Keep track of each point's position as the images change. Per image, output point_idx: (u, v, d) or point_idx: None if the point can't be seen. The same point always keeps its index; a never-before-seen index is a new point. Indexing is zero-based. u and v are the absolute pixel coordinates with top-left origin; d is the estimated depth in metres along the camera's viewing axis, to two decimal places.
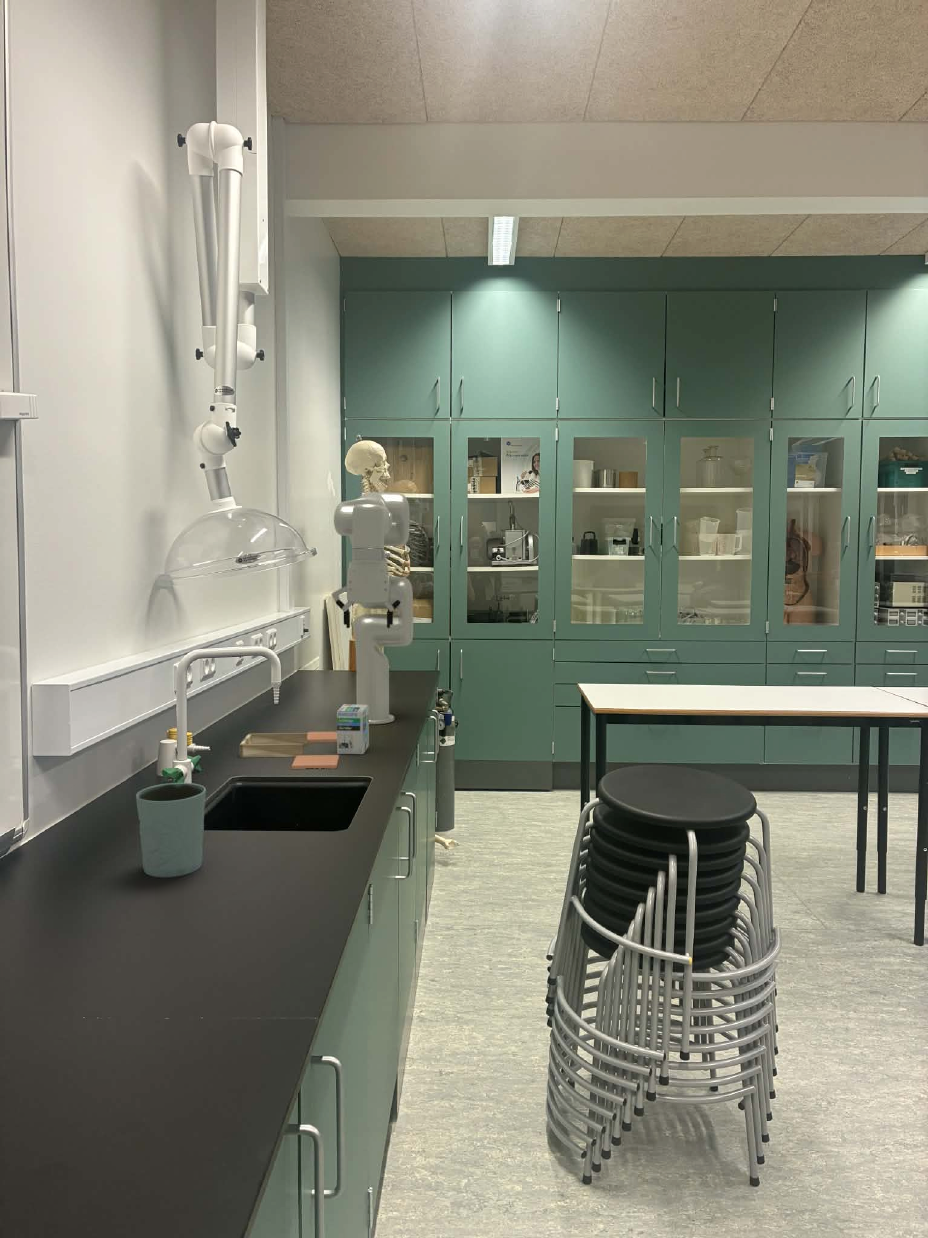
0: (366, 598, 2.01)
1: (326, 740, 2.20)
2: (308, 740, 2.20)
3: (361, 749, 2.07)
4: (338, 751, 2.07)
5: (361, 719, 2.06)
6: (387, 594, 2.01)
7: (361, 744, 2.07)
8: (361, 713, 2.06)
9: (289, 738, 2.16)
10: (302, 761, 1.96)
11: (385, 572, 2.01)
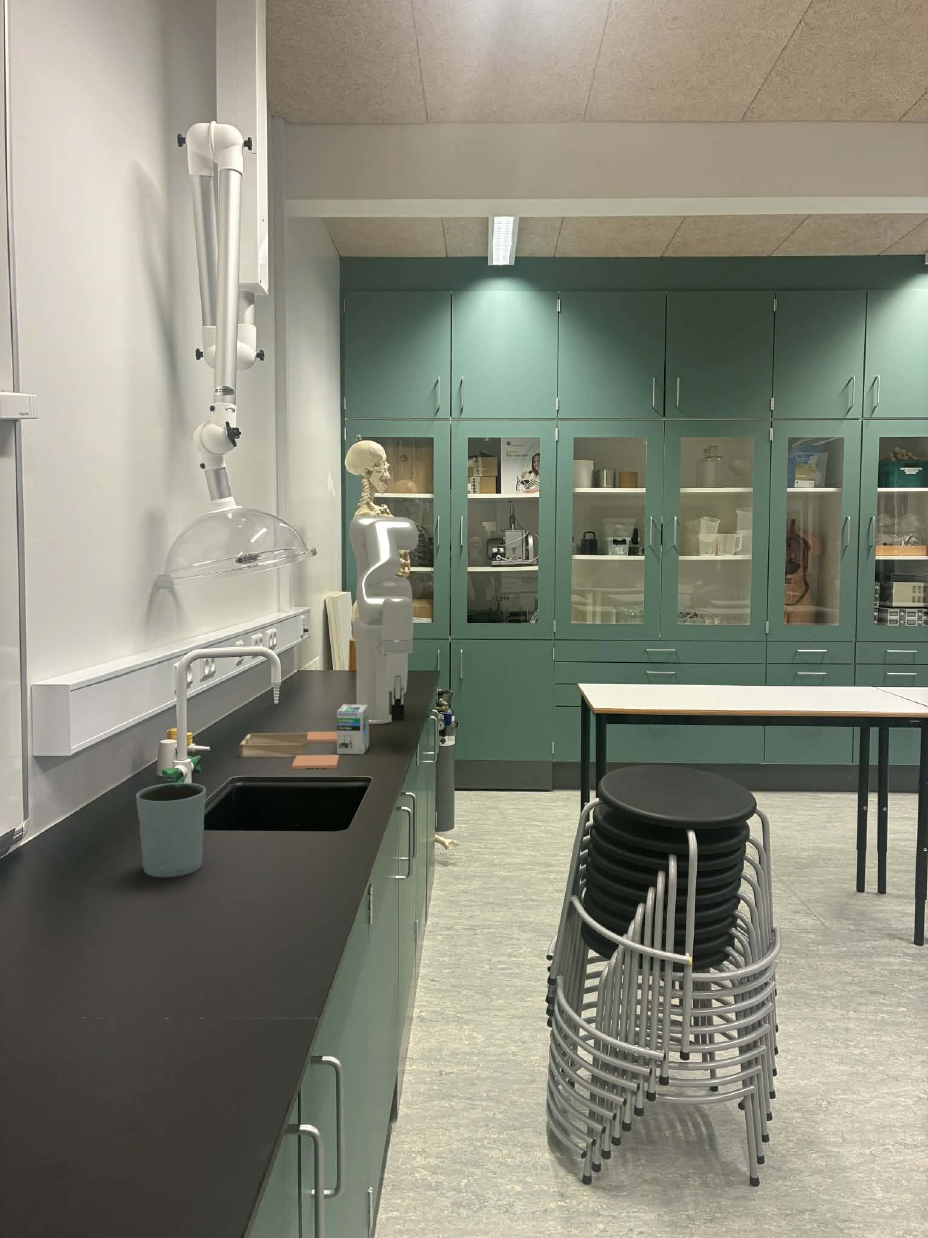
0: None
1: (326, 740, 2.20)
2: (308, 740, 2.20)
3: (361, 749, 2.07)
4: (338, 751, 2.07)
5: (361, 719, 2.06)
6: None
7: (361, 744, 2.07)
8: (361, 713, 2.06)
9: (289, 738, 2.16)
10: (302, 761, 1.96)
11: None
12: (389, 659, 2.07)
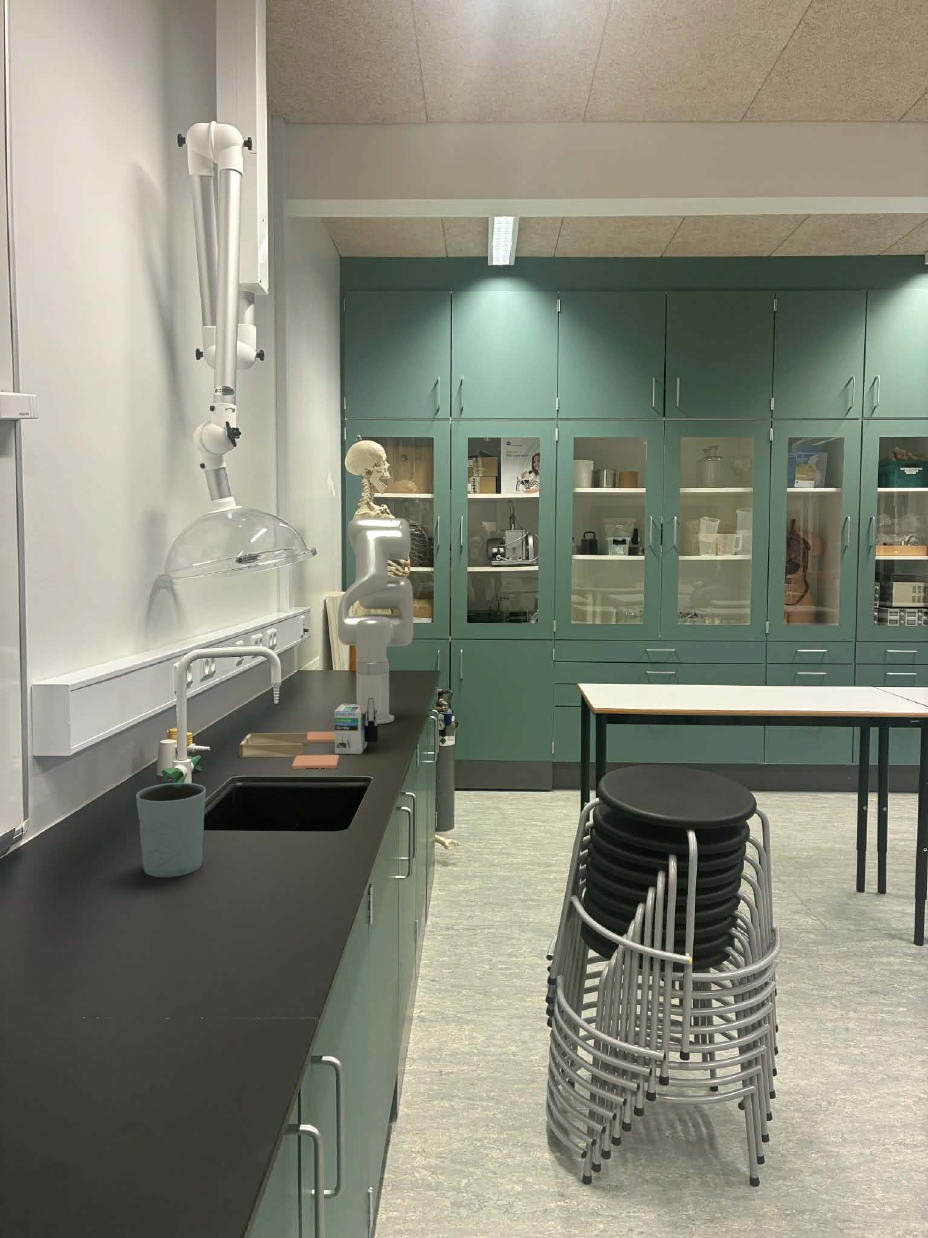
0: None
1: (326, 740, 2.20)
2: (308, 740, 2.20)
3: (359, 749, 2.07)
4: (336, 751, 2.07)
5: (359, 719, 2.06)
6: None
7: (359, 744, 2.07)
8: (359, 713, 2.06)
9: (289, 738, 2.16)
10: (302, 761, 1.96)
11: None
12: (362, 681, 2.07)
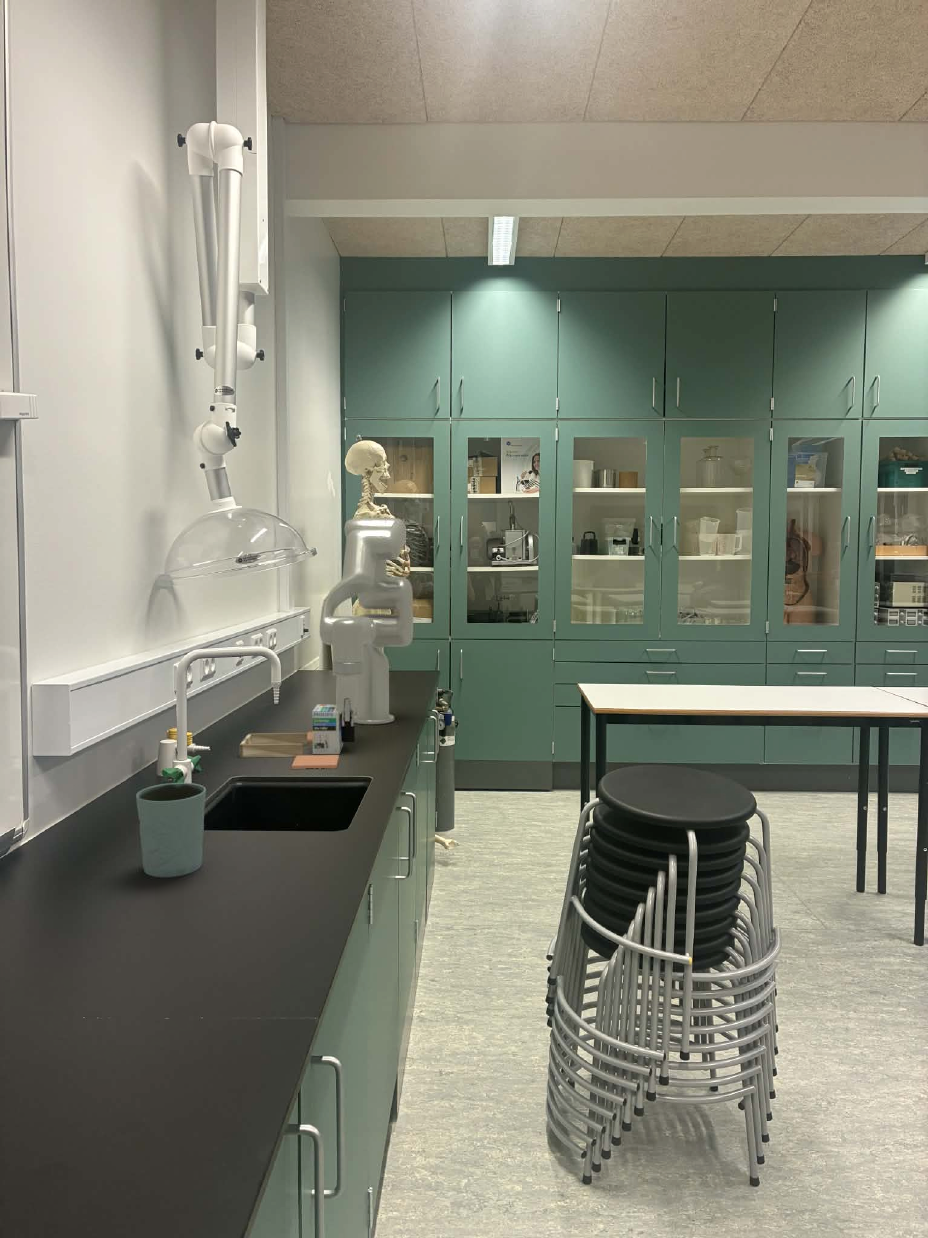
0: None
1: None
2: (308, 740, 2.20)
3: (337, 749, 2.06)
4: (314, 751, 2.06)
5: (337, 719, 2.06)
6: None
7: (337, 744, 2.06)
8: (337, 713, 2.06)
9: (289, 738, 2.16)
10: (302, 761, 1.96)
11: None
12: (338, 682, 2.06)
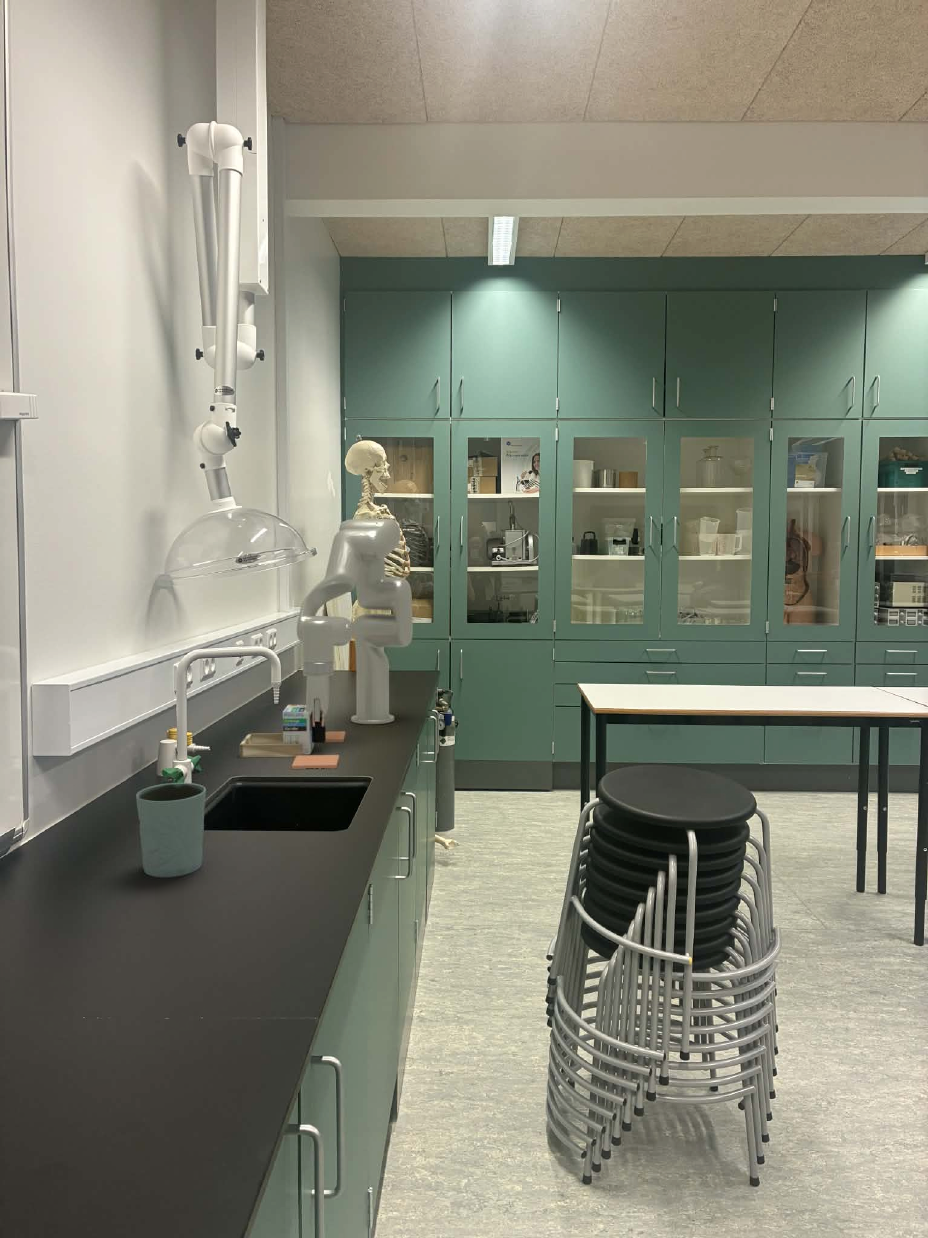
0: (327, 708, 2.10)
1: (326, 740, 2.20)
2: None
3: (308, 749, 2.06)
4: None
5: (307, 719, 2.05)
6: None
7: (308, 744, 2.06)
8: (307, 713, 2.05)
9: None
10: (302, 761, 1.96)
11: None
12: (308, 682, 2.06)
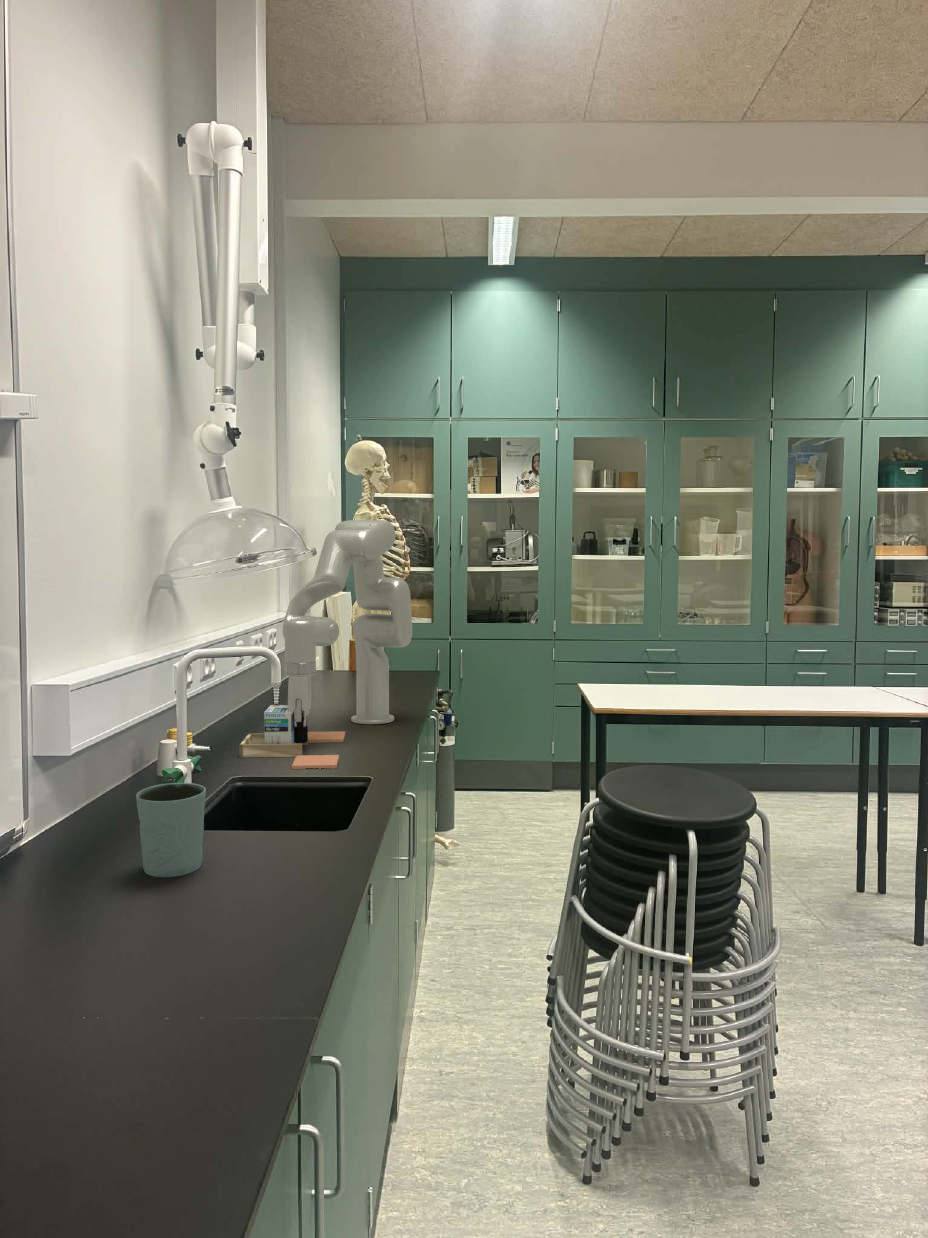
0: (309, 709, 2.10)
1: (326, 740, 2.20)
2: (308, 740, 2.20)
3: None
4: None
5: (289, 720, 2.05)
6: None
7: None
8: (289, 714, 2.05)
9: None
10: (302, 761, 1.96)
11: None
12: (290, 682, 2.05)
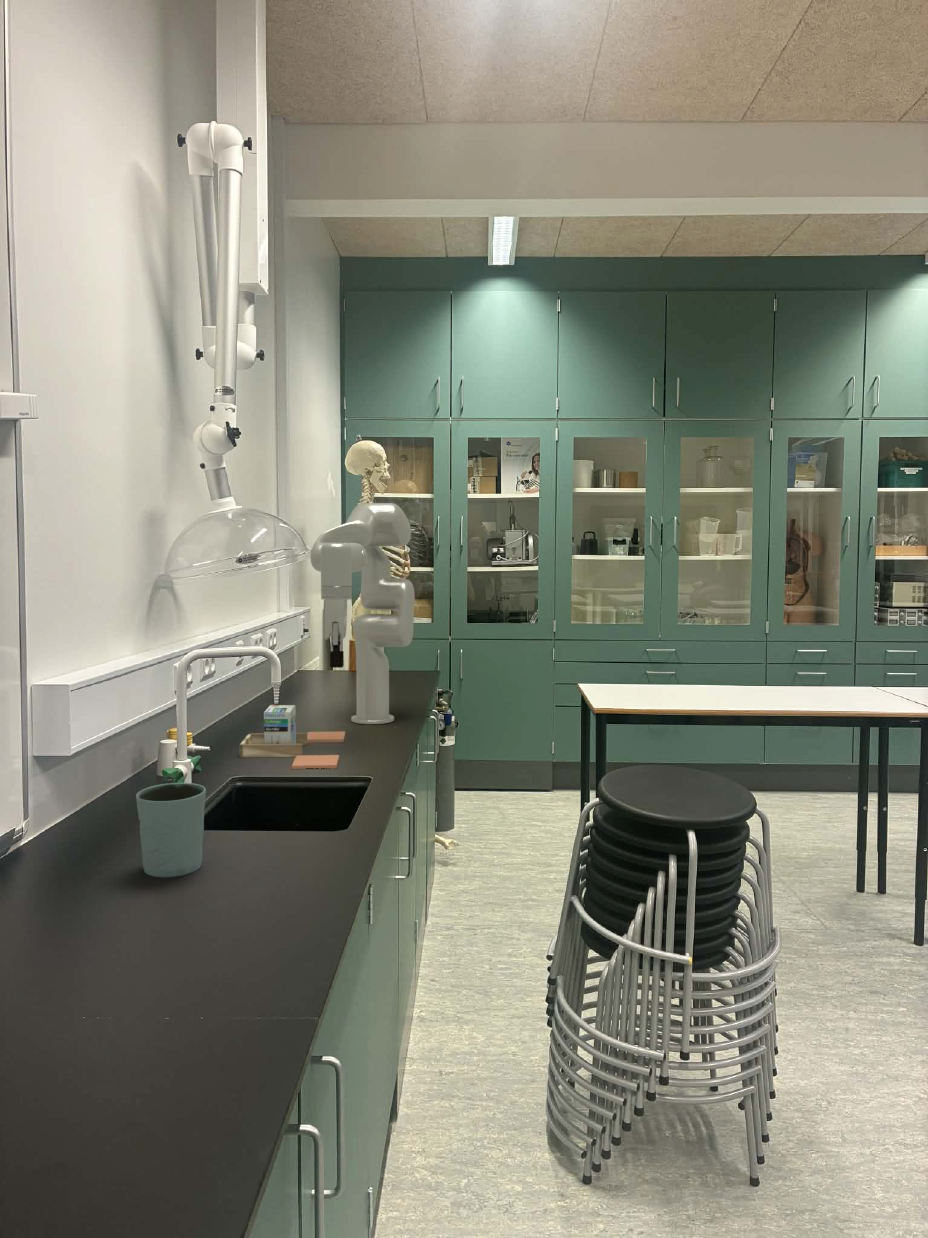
0: (345, 633, 2.10)
1: (326, 740, 2.20)
2: (308, 740, 2.20)
3: None
4: None
5: (289, 720, 2.05)
6: None
7: None
8: (289, 714, 2.05)
9: None
10: (302, 761, 1.96)
11: None
12: (327, 605, 2.05)
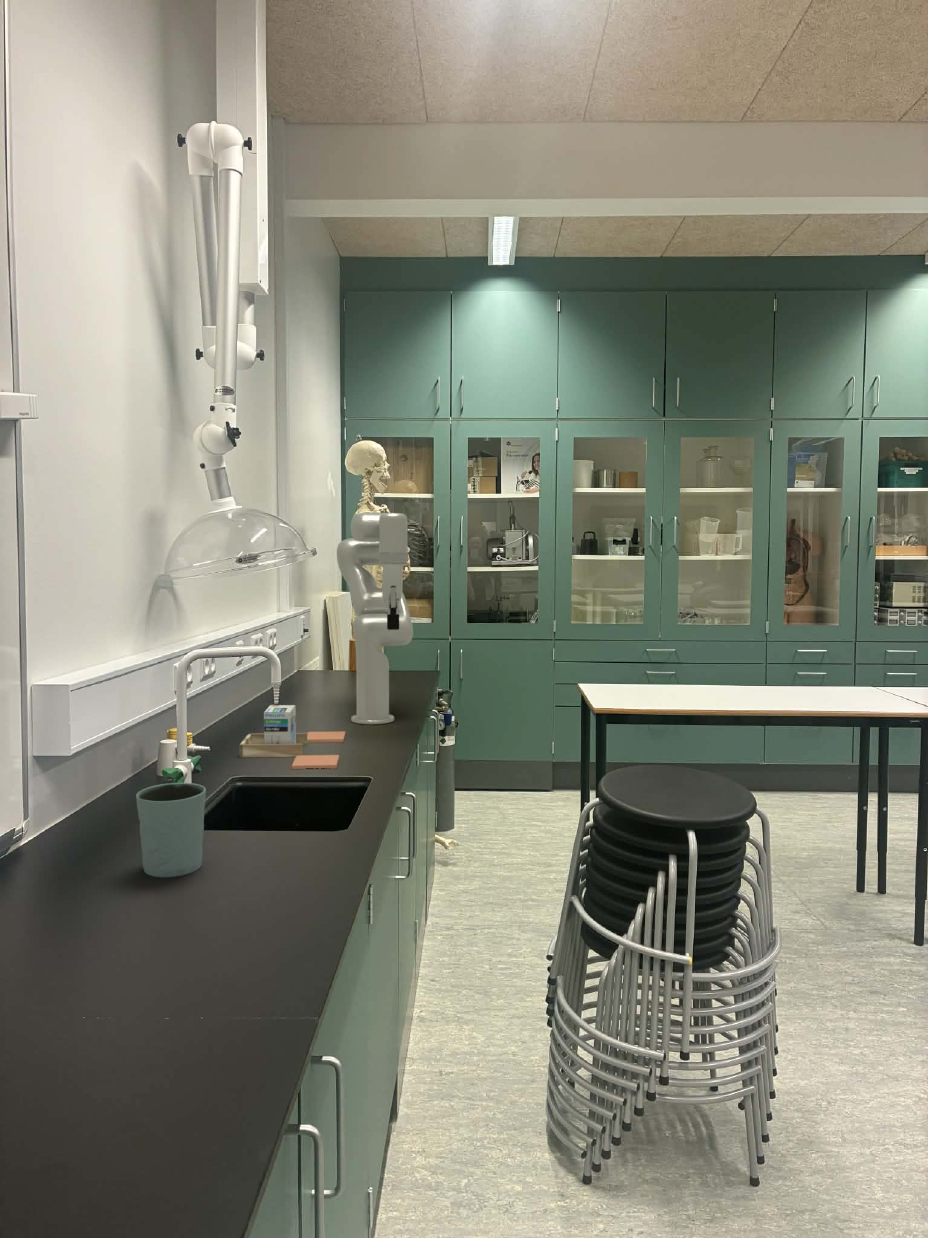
0: None
1: (326, 740, 2.20)
2: (308, 740, 2.20)
3: None
4: None
5: (289, 720, 2.05)
6: None
7: None
8: (289, 714, 2.05)
9: None
10: (302, 761, 1.96)
11: None
12: (385, 570, 2.19)
